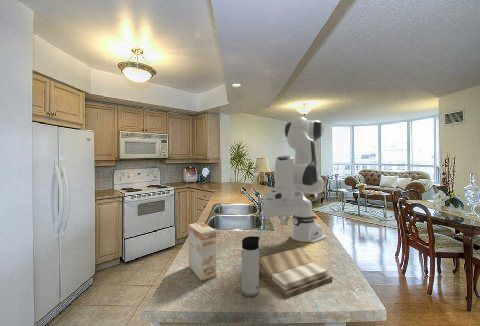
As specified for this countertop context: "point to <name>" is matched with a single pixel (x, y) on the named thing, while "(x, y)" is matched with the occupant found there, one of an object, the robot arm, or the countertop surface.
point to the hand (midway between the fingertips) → (284, 224)
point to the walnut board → (295, 289)
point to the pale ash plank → (298, 275)
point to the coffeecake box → (202, 250)
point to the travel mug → (250, 266)
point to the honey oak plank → (284, 261)
